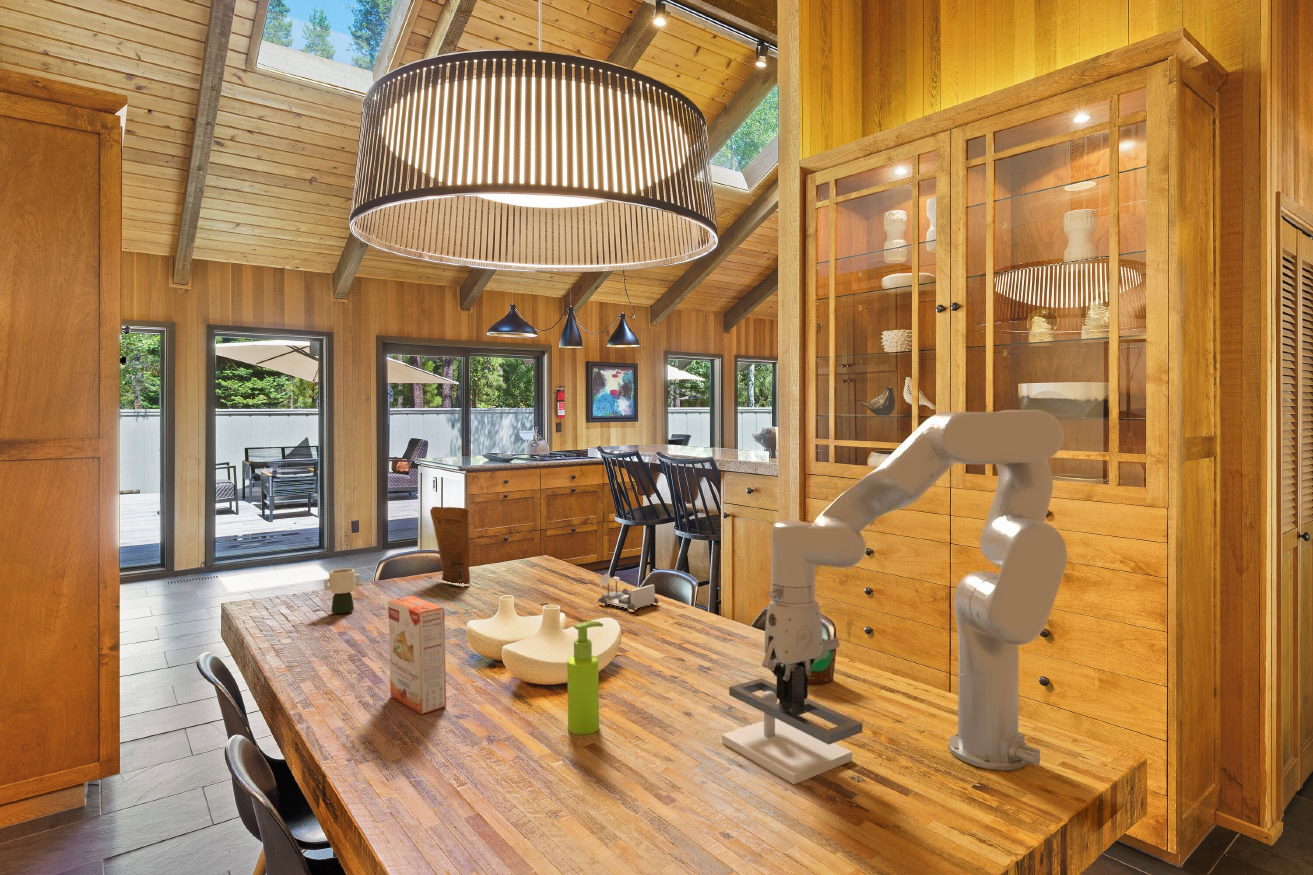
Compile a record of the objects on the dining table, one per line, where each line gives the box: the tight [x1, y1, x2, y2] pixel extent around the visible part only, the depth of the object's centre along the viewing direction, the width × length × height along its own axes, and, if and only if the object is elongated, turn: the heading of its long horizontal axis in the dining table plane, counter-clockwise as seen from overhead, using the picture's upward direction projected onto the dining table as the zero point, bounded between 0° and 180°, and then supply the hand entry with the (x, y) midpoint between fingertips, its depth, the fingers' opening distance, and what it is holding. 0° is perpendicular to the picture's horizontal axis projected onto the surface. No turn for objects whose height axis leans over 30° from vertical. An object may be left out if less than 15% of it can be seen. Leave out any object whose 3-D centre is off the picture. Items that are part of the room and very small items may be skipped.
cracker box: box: [387, 595, 447, 715], centre depth 148 cm, size 14×6×21 cm, turn 45°
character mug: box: [323, 568, 361, 614], centre depth 217 cm, size 11×7×13 cm, turn 138°
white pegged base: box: [721, 691, 853, 785], centre depth 125 cm, size 18×14×9 cm
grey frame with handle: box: [728, 664, 863, 745], centre depth 123 cm, size 24×8×8 cm, turn 34°
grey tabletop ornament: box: [597, 572, 659, 611], centre depth 225 cm, size 18×10×12 cm
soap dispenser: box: [566, 620, 604, 736], centre depth 135 cm, size 6×7×20 cm
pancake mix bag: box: [429, 506, 471, 585], centre depth 253 cm, size 7×19×28 cm, turn 52°
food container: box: [807, 636, 840, 686], centre depth 158 cm, size 12×6×10 cm, turn 62°
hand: (792, 697), depth 123 cm, fingers closed on grey frame with handle, 3 cm apart
